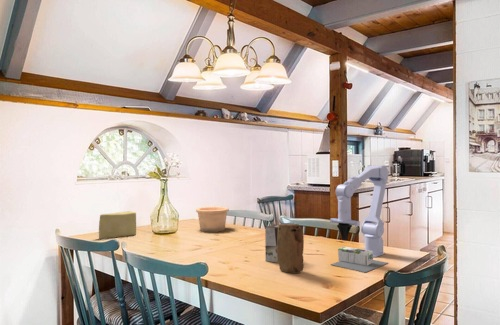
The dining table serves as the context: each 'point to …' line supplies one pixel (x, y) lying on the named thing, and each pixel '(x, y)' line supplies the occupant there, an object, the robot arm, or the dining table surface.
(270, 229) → the coffee box
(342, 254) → the syrup box
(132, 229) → the cheese
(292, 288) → the dining table surface
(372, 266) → the mat
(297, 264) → the block
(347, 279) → the dining table surface
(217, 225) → the pottery
